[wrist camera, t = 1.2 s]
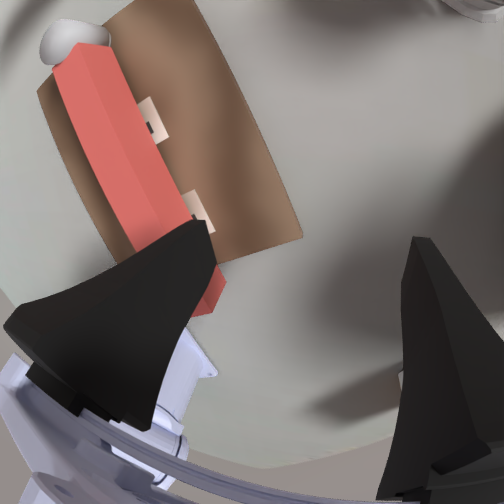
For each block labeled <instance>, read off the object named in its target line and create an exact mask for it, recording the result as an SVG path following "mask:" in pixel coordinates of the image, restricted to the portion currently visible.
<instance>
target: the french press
mask: <svg viewBox="0 0 504 504" xmlns="http://www.w3.org/2000/svg"><path fill="white" fill-rule="evenodd" d="M442 1H443V2H444V3H446V4H447V5H449V6H450V7H452V8H453V9H455V10H456V11H458V12H459V13H460V14H462V15H464V16H466V17H469V18H472V19H474V20H477V21H479V22H497V21H498V20H499V19H500V18H502V17H503V16H504V0H442Z"/></svg>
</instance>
